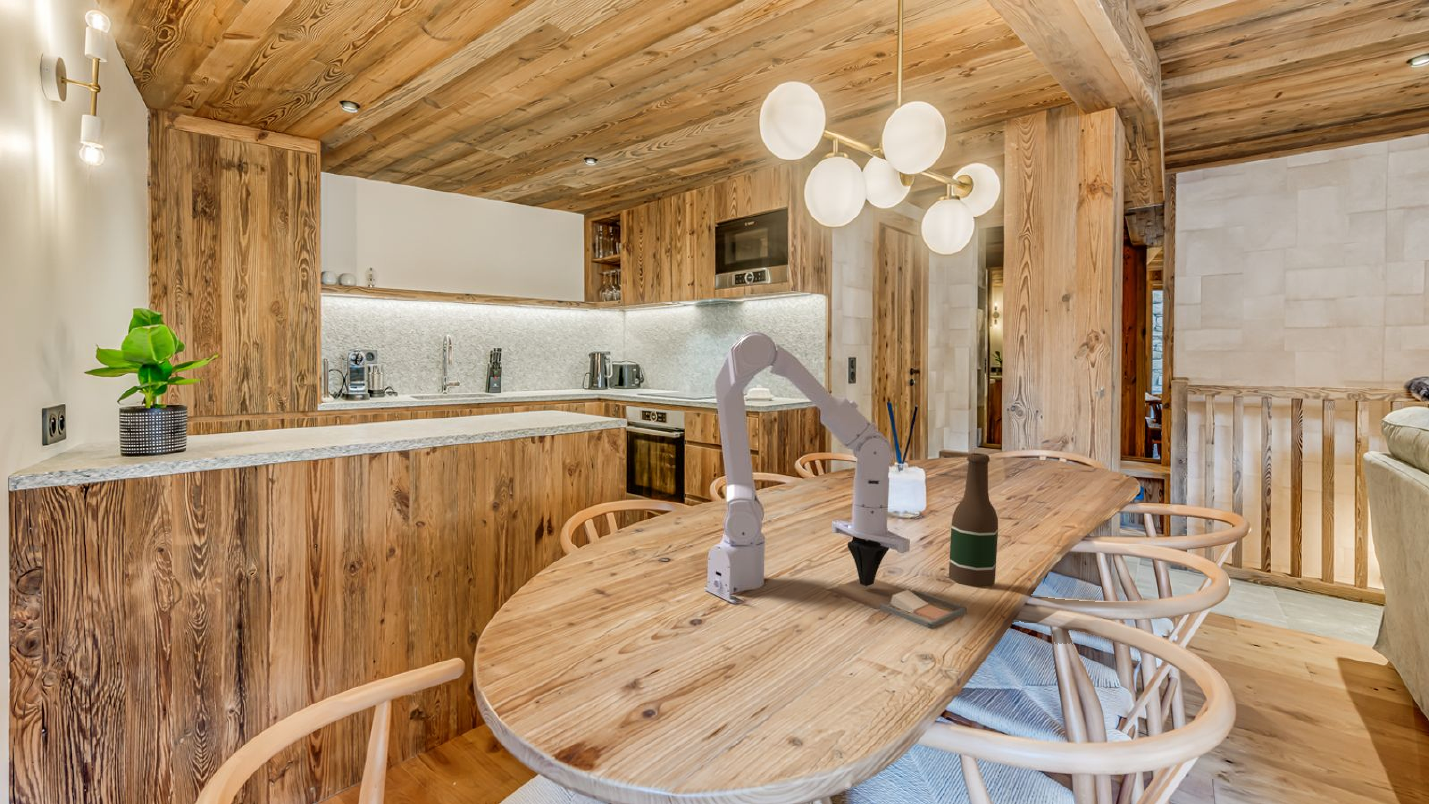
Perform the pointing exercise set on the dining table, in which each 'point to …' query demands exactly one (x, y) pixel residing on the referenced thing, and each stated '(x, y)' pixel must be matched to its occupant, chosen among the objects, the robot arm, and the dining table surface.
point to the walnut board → (868, 592)
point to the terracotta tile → (931, 612)
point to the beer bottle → (974, 530)
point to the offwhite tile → (907, 601)
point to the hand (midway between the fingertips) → (866, 583)
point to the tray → (958, 611)
